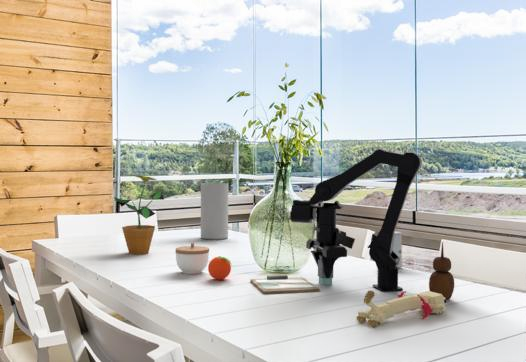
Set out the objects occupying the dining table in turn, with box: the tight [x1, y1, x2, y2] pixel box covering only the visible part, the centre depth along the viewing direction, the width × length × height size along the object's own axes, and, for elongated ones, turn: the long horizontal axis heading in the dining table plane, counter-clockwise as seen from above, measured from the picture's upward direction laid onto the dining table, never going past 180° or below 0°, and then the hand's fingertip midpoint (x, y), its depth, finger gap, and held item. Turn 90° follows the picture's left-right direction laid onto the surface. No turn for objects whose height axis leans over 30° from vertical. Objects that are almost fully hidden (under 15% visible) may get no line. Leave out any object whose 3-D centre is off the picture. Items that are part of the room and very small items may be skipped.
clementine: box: [207, 255, 233, 281], centre depth 176 cm, size 8×7×7 cm
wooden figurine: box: [428, 241, 455, 301], centre depth 153 cm, size 7×6×15 cm
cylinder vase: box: [200, 182, 229, 241], centre depth 267 cm, size 12×12×25 cm
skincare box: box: [393, 231, 403, 269], centre depth 198 cm, size 6×4×12 cm
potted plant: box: [113, 174, 165, 256], centre depth 224 cm, size 18×19×30 cm
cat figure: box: [356, 290, 448, 328], centre depth 136 cm, size 10×9×25 cm
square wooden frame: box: [250, 274, 321, 295], centre depth 168 cm, size 16×16×2 cm
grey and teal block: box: [317, 259, 334, 286], centre depth 172 cm, size 4×4×7 cm
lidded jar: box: [175, 242, 210, 275], centre depth 187 cm, size 11×11×9 cm
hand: (325, 276), depth 172 cm, fingers closed on grey and teal block, 3 cm apart
